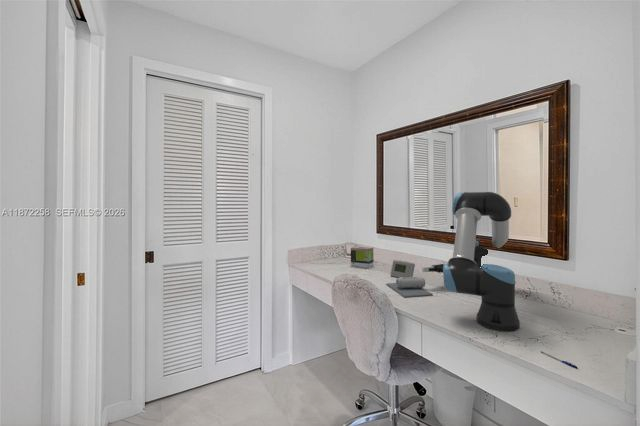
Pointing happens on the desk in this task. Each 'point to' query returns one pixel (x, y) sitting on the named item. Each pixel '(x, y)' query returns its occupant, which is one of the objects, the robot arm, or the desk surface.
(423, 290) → the rubber mat
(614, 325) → the desk surface
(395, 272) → the digital clock
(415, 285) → the energy drink can
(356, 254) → the tea box
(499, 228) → the robot arm
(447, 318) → the desk surface
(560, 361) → the screwdriver
